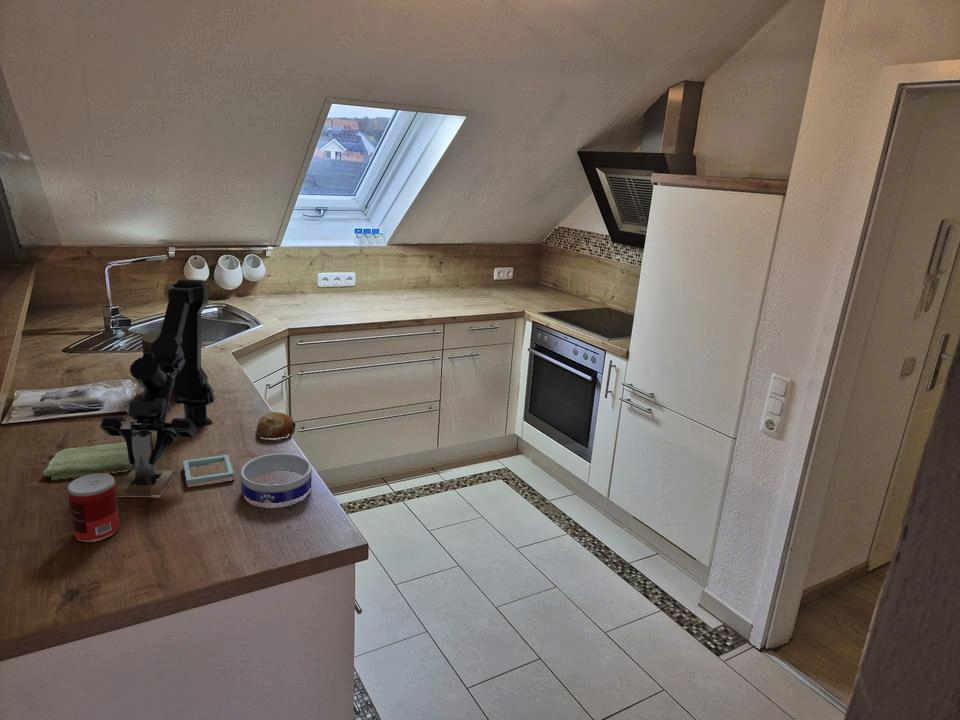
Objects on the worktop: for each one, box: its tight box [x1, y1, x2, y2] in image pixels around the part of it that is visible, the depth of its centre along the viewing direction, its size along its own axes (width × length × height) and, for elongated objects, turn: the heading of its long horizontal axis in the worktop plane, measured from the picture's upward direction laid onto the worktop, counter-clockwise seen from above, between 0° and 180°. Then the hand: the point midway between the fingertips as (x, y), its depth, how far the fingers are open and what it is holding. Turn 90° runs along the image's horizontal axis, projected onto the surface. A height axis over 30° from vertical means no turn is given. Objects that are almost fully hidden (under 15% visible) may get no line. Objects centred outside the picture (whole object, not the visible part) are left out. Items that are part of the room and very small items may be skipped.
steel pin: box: [131, 431, 156, 485], centre depth 141 cm, size 4×4×13 cm
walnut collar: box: [116, 469, 175, 496], centre depth 143 cm, size 9×9×2 cm
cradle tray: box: [182, 454, 235, 485], centre depth 150 cm, size 10×10×2 cm
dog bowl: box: [240, 452, 313, 503], centre depth 145 cm, size 15×15×6 cm
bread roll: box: [255, 410, 296, 438], centre depth 174 cm, size 10×10×8 cm
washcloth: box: [43, 441, 133, 481], centre depth 151 cm, size 13×18×3 cm
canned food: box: [67, 473, 121, 540], centre depth 125 cm, size 8×8×11 cm
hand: (141, 464), depth 140 cm, fingers closed on steel pin, 4 cm apart
